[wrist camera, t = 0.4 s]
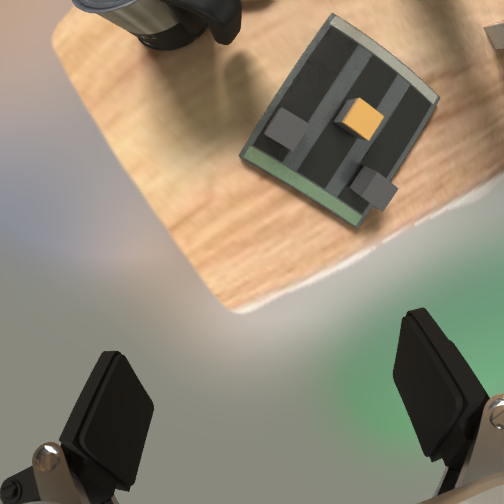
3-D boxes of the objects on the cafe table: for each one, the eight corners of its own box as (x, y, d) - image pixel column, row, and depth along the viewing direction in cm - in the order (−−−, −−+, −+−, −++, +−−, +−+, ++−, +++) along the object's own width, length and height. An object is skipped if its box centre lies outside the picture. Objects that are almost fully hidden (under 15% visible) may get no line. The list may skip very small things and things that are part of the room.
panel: (329, 16, 25) (332, 12, 23) (434, 97, 28) (441, 97, 26) (239, 154, 32) (238, 156, 30) (353, 224, 35) (357, 229, 34)
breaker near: (278, 109, 28) (282, 107, 24) (303, 124, 28) (310, 124, 25) (263, 133, 29) (264, 134, 25) (288, 147, 30) (293, 151, 26)
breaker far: (363, 165, 30) (377, 171, 26) (383, 180, 31) (398, 188, 27) (349, 187, 31) (361, 196, 28) (369, 201, 32) (382, 212, 28)
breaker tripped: (347, 99, 27) (359, 97, 24) (369, 116, 28) (384, 116, 24) (333, 122, 28) (343, 122, 25) (355, 137, 29) (368, 140, 25)
